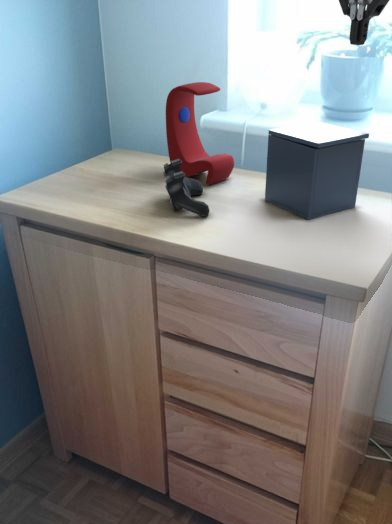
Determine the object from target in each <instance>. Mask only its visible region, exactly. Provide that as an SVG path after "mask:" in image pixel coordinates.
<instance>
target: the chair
mask: <svg viewBox="0 0 392 524" xmlns="http://www.w3.org/2000/svg"><path fill="white" fill-rule="evenodd" d="M220 91H221V88H220V86H218V85H216V84H213V83H211V82H206V81H205V82H204V81H197V82H191V83H186V84H181V85H178V86H175V87H173V88H172V89H171V90H170V91H169V92H168V94H167V96H166V100H165V101H166V102H165V132H166V143H167V145H166V146H167V152H168V158H169V162H170V163H172V162H171V161H173V160H176V159H180V160H182V164H181V166H180V172H181V171H182V172H183V173H185V177H187V178H191V177H194V176H197V175H200V174H203V173H205V172H207V174H206V178H205V185H207V186H211V185H213V184H217V183H219V182H222V181H224V180H226V179H228V178H229V177H230V176H231V174H232V172H233V171H234V167H235V160H234V156H232V155H231V154H228V153H218V154H217V153H216V154H212V155H210V154H208V153H207V152H206V150H205V148H204V146H203V144H202V141H201V138H200V135H199V131H198V128H197V122H196V113H195V96H206V95H211V94H214V93H217V92H220ZM170 163H169V164H170Z"/></svg>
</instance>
